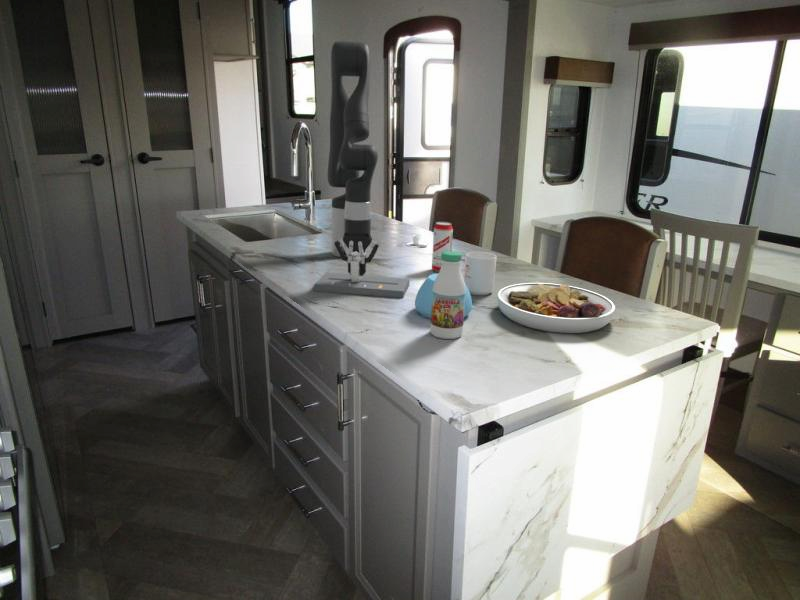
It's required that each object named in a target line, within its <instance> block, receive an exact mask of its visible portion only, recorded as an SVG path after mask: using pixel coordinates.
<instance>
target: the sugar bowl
mask: <svg viewBox="0 0 800 600" xmlns="http://www.w3.org/2000/svg"><path fill="white" fill-rule="evenodd" d="M438 274H439V273H433V274H430V275H428V276H427V278H426V279H425V280H424V281H423V283H422V284H421V285H420V287H419V289H418V290H417V293H416V296H415V299H414V306H415V309H416V311H417V312H418V313H419V314H420V315H421V316H422V317H425V318H427V319H430V320H431V310H432V295H433V286H434V282H435V279H436V277H437V275H438ZM472 309H473V302H472V294H470V292H469V290H468V288H467V286H466V284H465V307H464V318H465V317H467V315H468V314H470V313H471V311H472Z"/></svg>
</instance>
